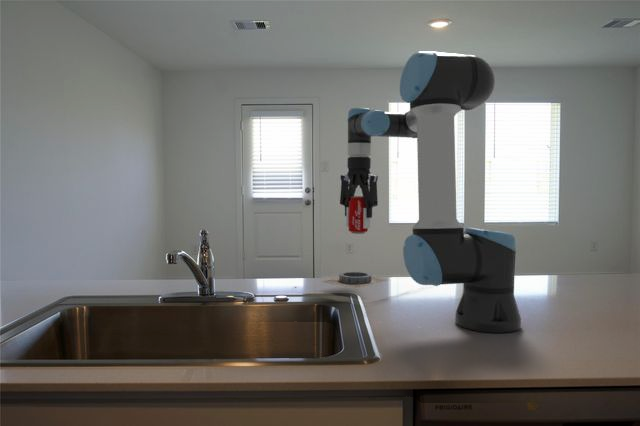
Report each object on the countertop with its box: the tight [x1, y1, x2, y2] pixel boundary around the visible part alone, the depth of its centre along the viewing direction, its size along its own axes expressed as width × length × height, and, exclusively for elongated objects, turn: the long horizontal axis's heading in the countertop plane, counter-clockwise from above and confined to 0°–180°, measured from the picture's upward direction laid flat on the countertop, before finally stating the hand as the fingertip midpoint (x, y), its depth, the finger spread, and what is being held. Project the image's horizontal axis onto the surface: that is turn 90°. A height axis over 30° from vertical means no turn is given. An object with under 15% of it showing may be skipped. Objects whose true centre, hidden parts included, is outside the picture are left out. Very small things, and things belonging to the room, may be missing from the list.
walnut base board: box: [321, 276, 389, 289], centre depth 173 cm, size 18×14×2 cm
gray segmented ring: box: [338, 271, 373, 284], centre depth 172 cm, size 10×10×2 cm
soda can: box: [348, 195, 369, 235], centre depth 171 cm, size 6×6×12 cm
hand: (358, 227), depth 171 cm, fingers closed on soda can, 6 cm apart
